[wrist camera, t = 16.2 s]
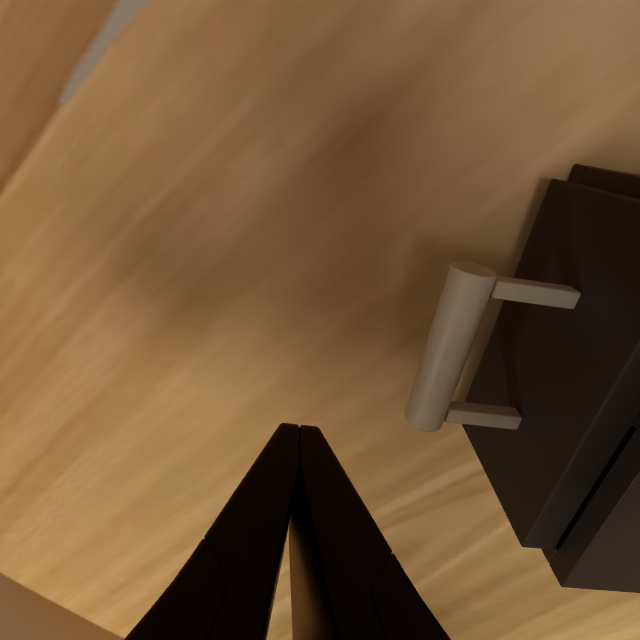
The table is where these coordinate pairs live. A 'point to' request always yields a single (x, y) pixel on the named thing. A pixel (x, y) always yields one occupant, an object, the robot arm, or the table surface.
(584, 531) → the cabinet
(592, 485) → the drawer
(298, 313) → the table surface
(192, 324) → the table surface
